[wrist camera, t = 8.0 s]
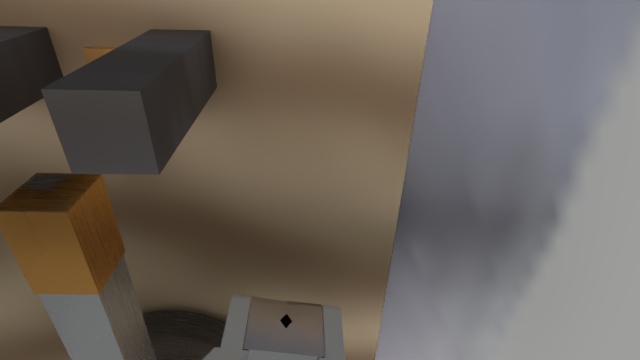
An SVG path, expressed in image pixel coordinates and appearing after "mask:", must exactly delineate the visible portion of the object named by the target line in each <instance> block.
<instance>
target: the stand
mask: <svg viewBox="0 0 640 360" xmlns="http://www.w3.org/2000/svg"><path fill="white" fill-rule="evenodd" d="M432 5H433V0H0V203H1V202H2V201H3V200H5V199H6V198H7V197H8V196H9V195H11V194H12V193H13V192H14V191H15V190H17V189H18V188H19V187H20V186H21V185H22V184H24V183H25V182H26V181H27V180H28V179H30V178H31V177H32V176H33V175H34V174H36V173H72V174H102V176H103V179H104V182H105V186H106V189H107V192H108V195H109V199H110V202H111V205H112V208H113V212H114V215H115V218H116V221H117V225H118V228H119V231H120V234H121V238H122V241H123V244H124V247H125V253H124V257H125V260H126V264H127V267H128V270H129V273H130V276H131V279H132V283H133V286H134V289H135V292H136V295H137V299H138V302H139V305H140V308H141V311H142V314H143V313H147V312H153V311H162V310H177V311H188V312H194V313H199V314H203V315H207V316H210V317H213V318H216V319H218V320H221V321H223V322H225V323H226V319H227V315H228V310H229V306H230V301H231V298H232V295H233V294H238V295H245V296H251V297H252V296H254V297H260V298H267V299H274V300H281V301H294V302H304V303H313V304H321V305H329V306H337V307H340V309H341V317H342V327H343V338H344V349H345V360H375V356H376V350H377V343H378V337H379V331H380V325H381V319H382V313H383V307H384V300H385V294H386V288H387V282H388V276H389V270H390V264H391V257H392V251H393V245H394V239H395V233H396V227H397V221H398V214H399V208H400V202H401V196H402V190H403V184H404V177H405V171H406V165H407V159H408V153H409V147H410V141H411V134H412V128H413V122H414V116H415V110H416V104H417V98H418V91H419V85H420V79H421V73H422V67H423V61H424V55H425V48H426V42H427V36H428V30H429V24H430V18H431V12H432ZM250 303H251V301H250ZM249 309H250V308H249ZM248 315H249V314H248ZM0 360H71V358H70V356H69V354H68V352H67V350H66V348H65V346H64V344H63V342H62V340H61V338H60V336H59V334H58V332H57V330H56V328H55V326H54V324H53V322H52V320H51V318H50V317H49V315H48V313H47V311H46V309H45V307H44V305H43V303H42V301H41V299H40V297H39V295H38V294H33V292H32V290H31V288H30V286H29V284H28V282H27V280H26V278H25V276H24V274H23V272H22V270H21V268H20V267H19V265H18V263H17V261H16V259H15V257H14V255H13V253H12V251H11V249H10V247H9V245H8V243H7V241H6V239H5V238H4V236H3V234H2V232H1V230H0Z"/></svg>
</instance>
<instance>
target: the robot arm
mask: <svg viewBox="0 0 640 360" xmlns="http://www.w3.org/2000/svg"><path fill="white" fill-rule="evenodd" d="M250 301H251V303H250ZM249 308H250V309H249ZM248 314H249V315H248ZM202 360H345V349H344V338H343V327H342V317H341V309H340V307H337V306H329V305H321V304H313V303H304V302H294V301H281V300H274V299H267V298H260V297H254V296H252V297H251V296H245V295H238V294H233V295H232V298H231V301H230V306H229V310H228V315H227V319H226V324H225V329H224V333H223V338H222V342H221V347H214V348H213V349H212V350H211V351H210V352H209V353H208V354H207V355H206V356H205V357H204V358H203V359H202Z"/></svg>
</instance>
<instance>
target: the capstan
mask: <svg viewBox="0 0 640 360" xmlns="http://www.w3.org/2000/svg"><path fill="white" fill-rule="evenodd" d="M0 230H1V232H2V234H3V236H4V238H5V239H6V241H7V243H8V245H9V247H10V249H11V251H12V253H13V255H14V257H15V259H16V261H17V263H18V265H19V267H20V268H21V270H22V272H23V274H24V276H25V278H26V280H27V282H28V284H29V286H30V288H31V290H32V292H33V294H38V295H39V297H40V299H41V301H42V303H43V305H44V307H45V309H46V311H47V313H48V315H49V317H50V318H51V320H52V322H53V324H54V326H55V328H56V330H57V332H58V334H59V336H60V338H61V340H62V342H63V344H64V346H65V348H66V350H67V352H68V354H69V356H70V358H71V360H202V359H203V358H204V357H205V356H206V355H207V354H208V353H209V352H210V351H211V350H212V349H213V348H214V347H221V342H222V338H223V333H224V329H225V324H226V323H225V322H223V321H221V320H218V319H216V318H213V317H210V316H207V315H203V314H199V313H194V312H188V311H177V310H162V311H153V312H147V313H143V314H142V311H141V308H140V305H139V302H138V299H137V295H136V292H135V289H134V286H133V283H132V279H131V276H130V273H129V270H128V267H127V264H126V260H125V257H124V253H125V247H124V244H123V241H122V238H121V234H120V231H119V228H118V225H117V221H116V218H115V215H114V212H113V208H112V205H111V202H110V199H109V195H108V192H107V189H106V186H105V182H104V179H103V176H102V174H72V173H36V174H34V175H33V176H32V177H31V178H30V179H28V180H27V181H26V182H25V183H24V184H22V185H21V186H20V187H19V188H18V189H17V190H15V191H14V192H13V193H12V194H11V195H9V196H8V197H7V198H6V199H5V200H3V201H2V202H1V203H0Z"/></svg>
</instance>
